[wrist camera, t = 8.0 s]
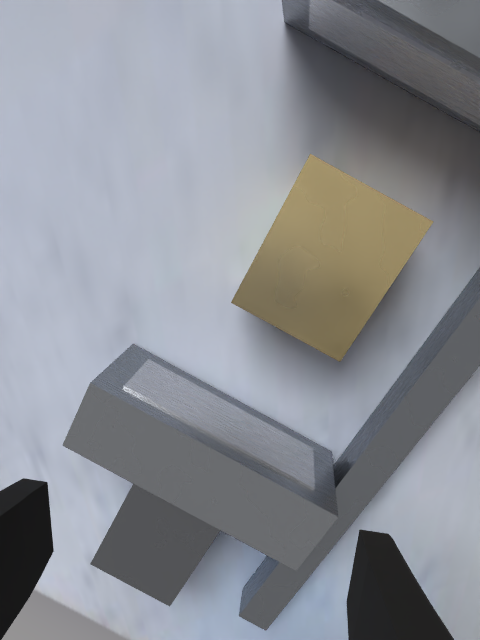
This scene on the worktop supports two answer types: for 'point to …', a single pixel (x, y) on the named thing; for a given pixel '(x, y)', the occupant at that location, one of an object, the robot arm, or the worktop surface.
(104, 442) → the sliding jaw
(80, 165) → the worktop surface
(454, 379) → the vise
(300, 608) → the worktop surface
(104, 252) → the worktop surface
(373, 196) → the brass block
